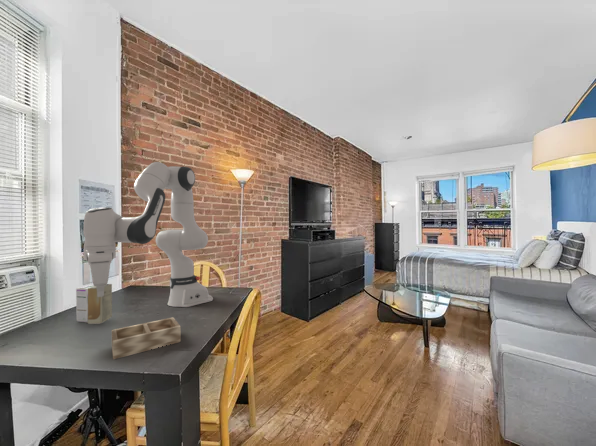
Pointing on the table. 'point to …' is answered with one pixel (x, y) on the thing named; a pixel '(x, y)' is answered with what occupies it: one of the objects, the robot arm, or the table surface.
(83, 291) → the syrup box
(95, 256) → the robot arm
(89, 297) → the skincare box
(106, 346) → the table surface
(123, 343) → the slot rack
